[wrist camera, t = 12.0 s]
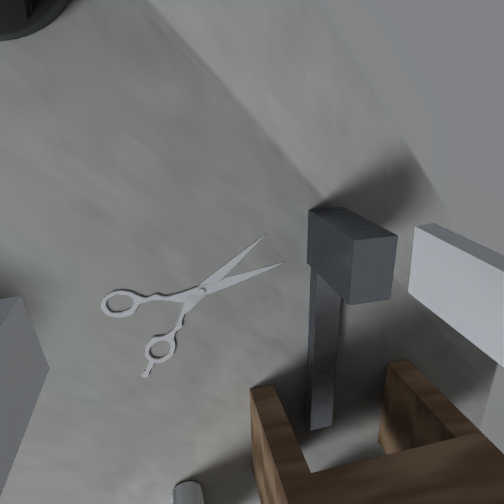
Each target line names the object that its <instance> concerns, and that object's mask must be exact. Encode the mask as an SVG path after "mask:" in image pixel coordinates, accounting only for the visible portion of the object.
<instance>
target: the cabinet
mask: <svg viewBox="0 0 504 504" xmlns="http://www.w3.org/2000/svg"><path fill="white" fill-rule="evenodd" d="M250 408H251V439H252V469H253V474H254V478H255V482H256V486H257V489H258V493H259V497H260V501H261V504H504V454H503V453H502V452H501V451H500V450H499V449H498V448H497V447H496V446H495V445H494V444H493V443H492V442H491V441H490V440H489V439H488V438H487V437H485V435H484V434H483V433H482V432H481V431H480V430H479V429H478V428H477V427H476V426H475V425H474V424H473V423H472V422H471V421H470V420H469V419H468V418H467V417H466V416H465V415H464V414H463V413H462V412H460V411H459V410H458V409H457V408H456V407H455V406H454V405H453V404H452V403H451V402H450V401H449V400H448V399H447V398H446V397H445V396H444V395H443V394H442V393H441V392H440V391H439V390H438V389H437V388H436V387H435V386H434V385H433V384H432V383H431V382H430V381H429V380H428V379H427V378H426V377H425V376H424V375H423V374H422V373H421V372H420V371H419V370H418V369H417V368H416V367H415V366H414V365H413V364H412V363H411V362H410V361H409V360H408V359H407V360H402V361H396V362H391V363H388V367H387V375H386V382H385V390H384V398H383V405H382V413H381V420H380V428H379V436H378V442H379V444H380V445H381V447H382V448H383V450H384V451H385V453H386V454H387V455H384V456H380V457H376V458H372V459H367V460H363V461H359V462H355V463H351V464H347V465H343V466H339V467H335V468H331V469H327V470H323V471H318V472H314V473H311V472H310V470H309V467H308V465H307V463H306V460H305V458H304V456H303V453H302V451H301V449H300V446H299V444H298V442H297V439H296V437H295V434H294V432H293V430H292V427H291V425H290V423H289V420H288V418H287V416H286V413H285V411H284V409H283V406H282V404H281V402H280V399H279V397H278V395H277V392H276V390H275V387H274V385H268V386H263V387H258V388H252V389H250Z"/></svg>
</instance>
